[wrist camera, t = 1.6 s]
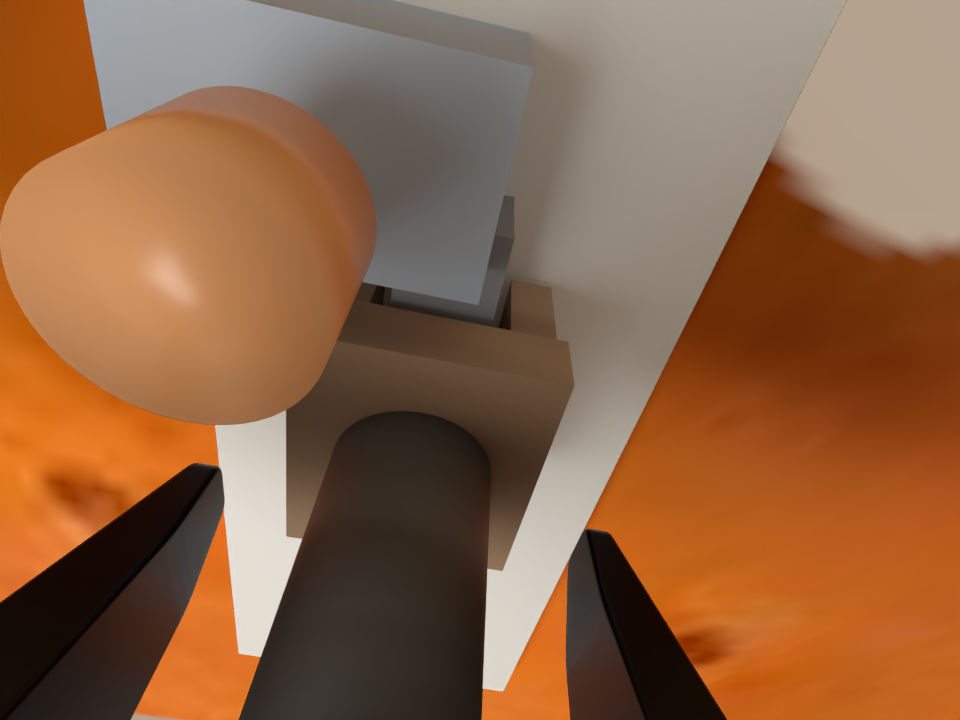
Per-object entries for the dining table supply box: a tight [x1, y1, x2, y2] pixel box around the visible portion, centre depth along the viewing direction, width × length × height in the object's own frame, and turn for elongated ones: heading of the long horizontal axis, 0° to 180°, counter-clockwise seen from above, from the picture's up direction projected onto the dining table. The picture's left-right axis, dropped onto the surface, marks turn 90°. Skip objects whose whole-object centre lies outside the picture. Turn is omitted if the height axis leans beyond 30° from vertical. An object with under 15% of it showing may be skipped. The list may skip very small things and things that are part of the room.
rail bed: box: [83, 0, 847, 691], centre depth 14 cm, size 23×10×4 cm, turn 169°
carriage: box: [239, 280, 574, 720], centre depth 9 cm, size 5×4×8 cm
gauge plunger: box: [0, 86, 377, 425], centre depth 5 cm, size 2×2×2 cm
